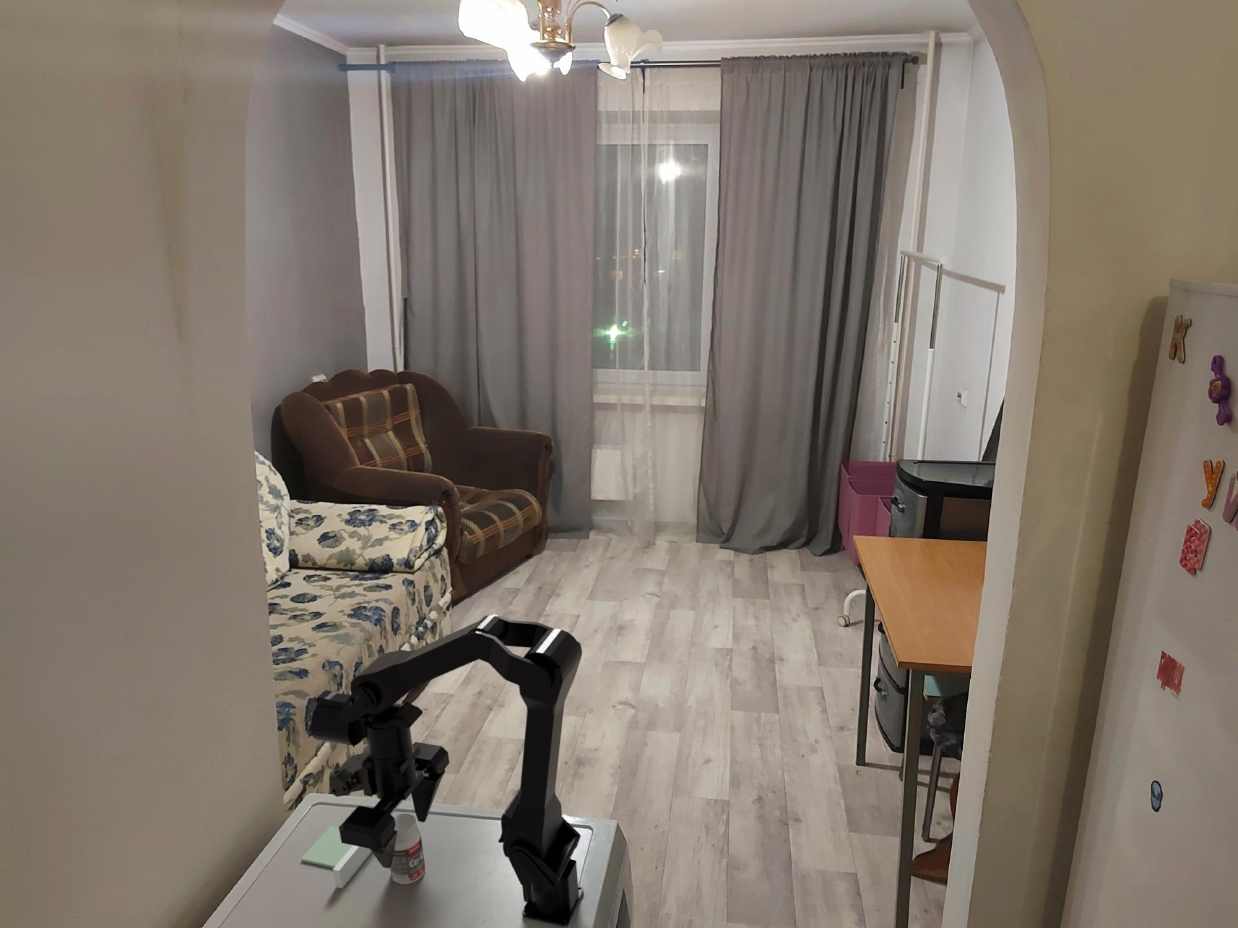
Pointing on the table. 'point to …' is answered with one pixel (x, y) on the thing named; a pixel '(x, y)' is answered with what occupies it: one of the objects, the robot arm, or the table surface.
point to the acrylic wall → (349, 864)
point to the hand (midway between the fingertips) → (405, 843)
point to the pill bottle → (407, 851)
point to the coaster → (327, 849)
